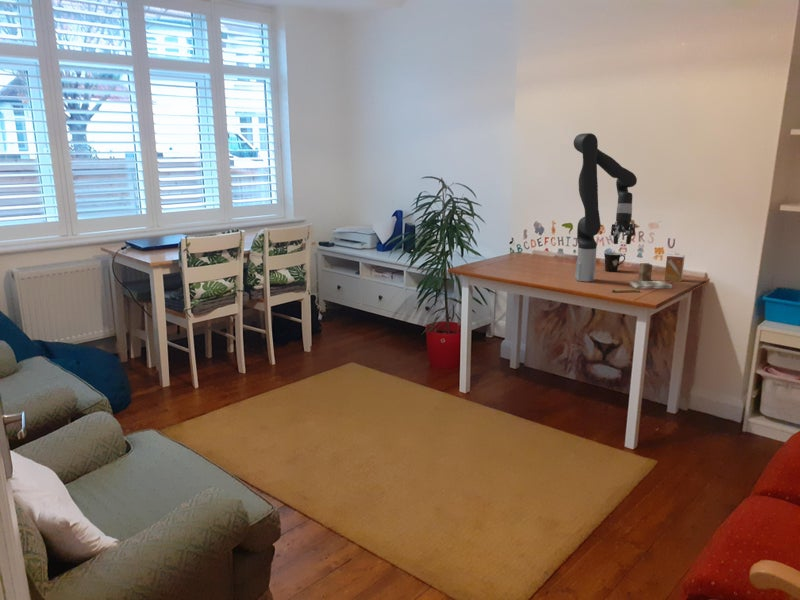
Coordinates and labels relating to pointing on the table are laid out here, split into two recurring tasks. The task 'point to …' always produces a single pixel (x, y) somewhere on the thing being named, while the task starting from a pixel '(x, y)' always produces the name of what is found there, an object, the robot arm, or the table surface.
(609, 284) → the table surface
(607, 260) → the coffee mug
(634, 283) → the board
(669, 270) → the small box
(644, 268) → the block
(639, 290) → the pencil
